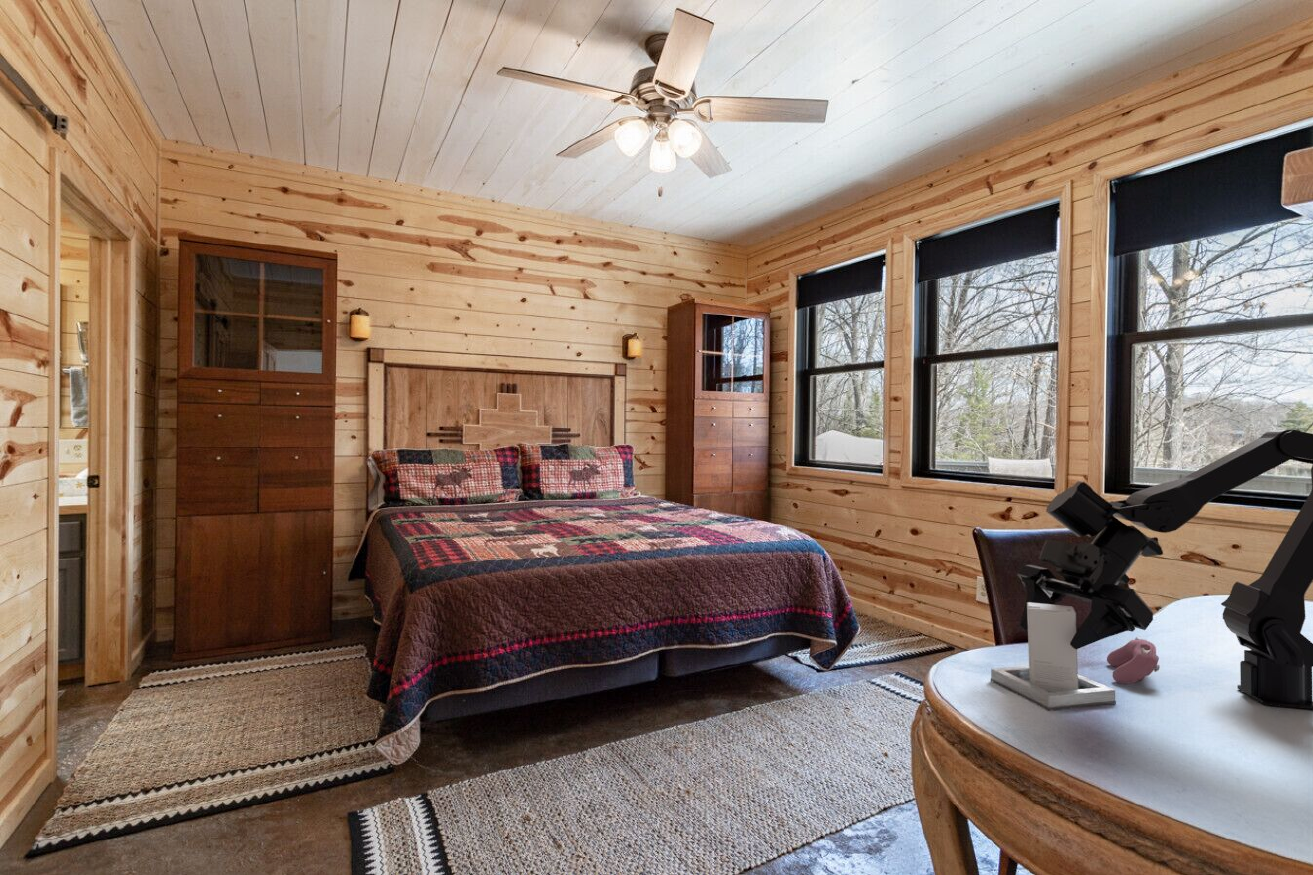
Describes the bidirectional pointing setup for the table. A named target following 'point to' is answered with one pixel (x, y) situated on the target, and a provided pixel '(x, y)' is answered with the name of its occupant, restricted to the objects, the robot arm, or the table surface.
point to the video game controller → (1134, 661)
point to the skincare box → (1052, 647)
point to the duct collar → (1083, 697)
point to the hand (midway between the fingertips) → (1046, 637)
